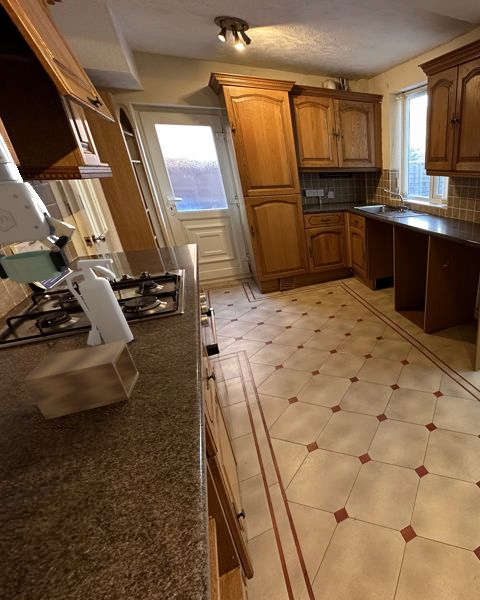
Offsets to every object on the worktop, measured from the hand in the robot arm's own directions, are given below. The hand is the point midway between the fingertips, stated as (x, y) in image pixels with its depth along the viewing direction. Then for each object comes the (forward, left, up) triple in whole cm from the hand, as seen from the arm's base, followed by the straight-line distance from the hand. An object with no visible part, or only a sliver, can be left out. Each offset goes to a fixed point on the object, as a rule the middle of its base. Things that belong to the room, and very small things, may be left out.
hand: (36, 272), depth 62 cm
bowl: (0, 0, -1) cm, 1 cm away
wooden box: (0, -1, -30) cm, 30 cm away
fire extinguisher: (-3, +26, -30) cm, 40 cm away
